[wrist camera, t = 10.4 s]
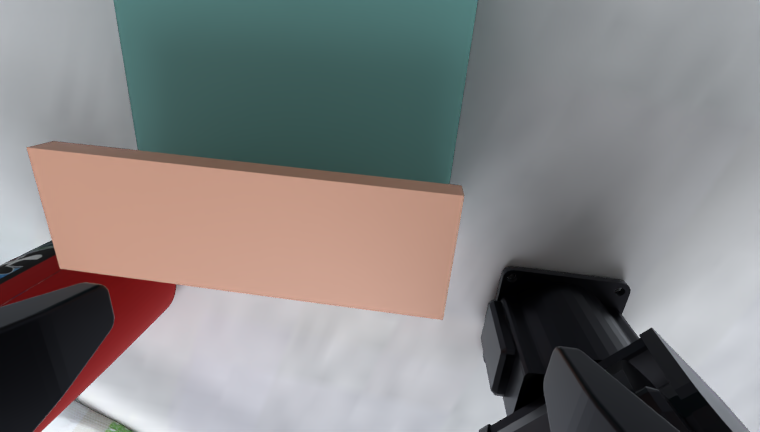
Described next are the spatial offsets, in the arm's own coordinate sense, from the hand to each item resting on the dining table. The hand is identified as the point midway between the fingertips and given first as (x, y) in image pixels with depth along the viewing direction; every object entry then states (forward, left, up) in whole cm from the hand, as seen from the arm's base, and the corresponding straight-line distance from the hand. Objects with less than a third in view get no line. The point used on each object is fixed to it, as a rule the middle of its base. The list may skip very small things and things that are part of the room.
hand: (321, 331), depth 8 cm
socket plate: (+4, -6, -13) cm, 15 cm away
